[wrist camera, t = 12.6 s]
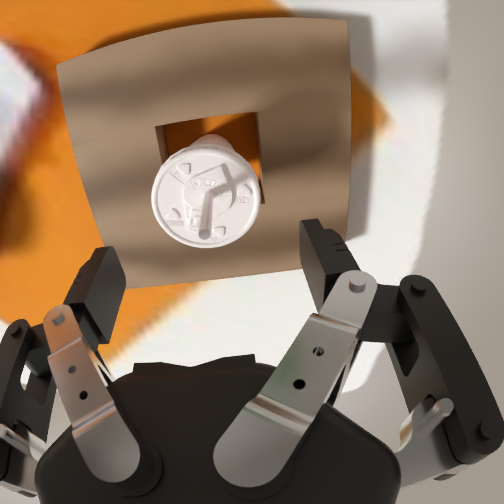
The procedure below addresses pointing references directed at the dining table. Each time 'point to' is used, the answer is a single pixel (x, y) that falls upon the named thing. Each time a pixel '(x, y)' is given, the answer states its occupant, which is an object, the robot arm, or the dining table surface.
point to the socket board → (208, 105)
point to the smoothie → (206, 194)
